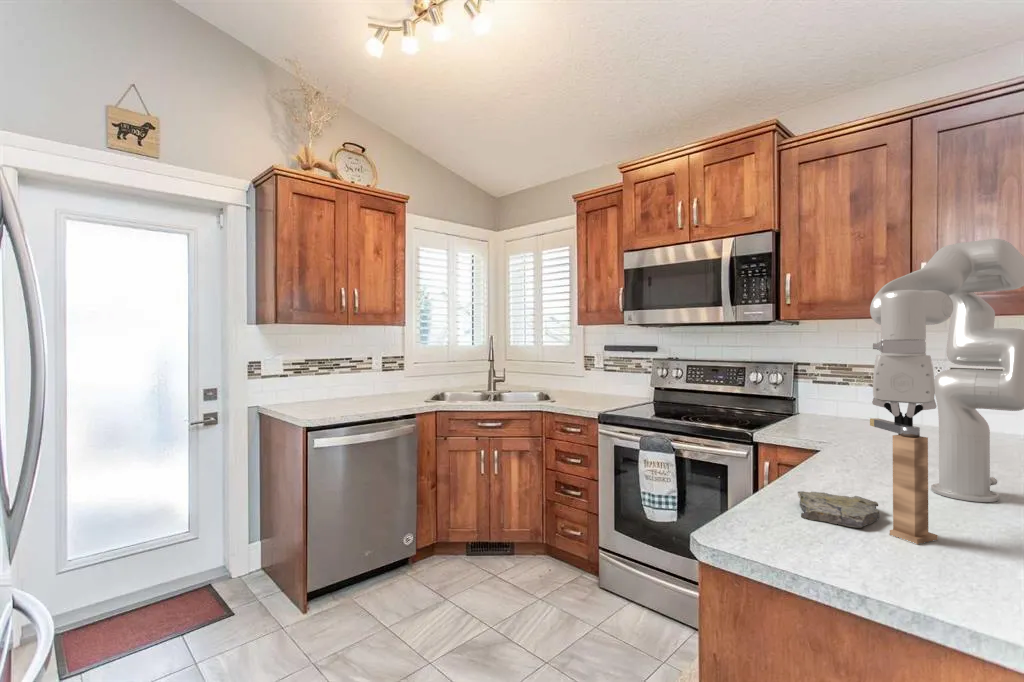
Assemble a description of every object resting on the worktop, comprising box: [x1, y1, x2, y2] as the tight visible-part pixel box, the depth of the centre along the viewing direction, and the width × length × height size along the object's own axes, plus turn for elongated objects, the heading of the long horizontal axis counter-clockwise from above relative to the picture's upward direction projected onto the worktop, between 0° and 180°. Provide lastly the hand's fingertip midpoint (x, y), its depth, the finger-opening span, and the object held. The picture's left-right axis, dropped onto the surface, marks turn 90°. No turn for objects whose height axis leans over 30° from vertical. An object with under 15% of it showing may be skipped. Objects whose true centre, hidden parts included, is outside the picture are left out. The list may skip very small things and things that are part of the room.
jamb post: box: [889, 434, 939, 545], centre depth 99 cm, size 6×5×20 cm
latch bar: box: [869, 417, 921, 437], centre depth 104 cm, size 13×3×2 cm, turn 174°
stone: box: [797, 490, 880, 529], centre depth 112 cm, size 18×15×4 cm
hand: (903, 434), depth 106 cm, fingers closed
